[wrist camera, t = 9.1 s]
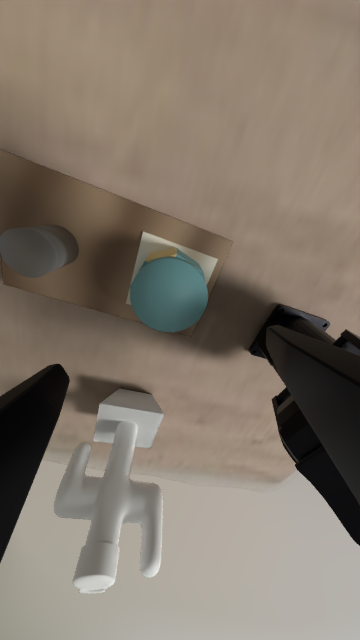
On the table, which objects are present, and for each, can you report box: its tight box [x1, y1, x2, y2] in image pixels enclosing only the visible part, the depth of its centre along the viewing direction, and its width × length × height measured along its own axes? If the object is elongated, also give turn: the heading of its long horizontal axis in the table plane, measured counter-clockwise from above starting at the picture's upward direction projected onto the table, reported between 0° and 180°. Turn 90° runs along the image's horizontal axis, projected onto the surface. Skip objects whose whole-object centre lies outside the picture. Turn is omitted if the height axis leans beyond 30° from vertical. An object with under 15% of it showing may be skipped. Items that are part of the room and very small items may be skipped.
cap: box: [130, 248, 208, 332], centre depth 16 cm, size 6×6×4 cm
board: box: [0, 149, 233, 337], centre depth 15 cm, size 18×10×5 cm, turn 71°
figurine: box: [54, 388, 164, 593], centre depth 20 cm, size 7×9×15 cm
